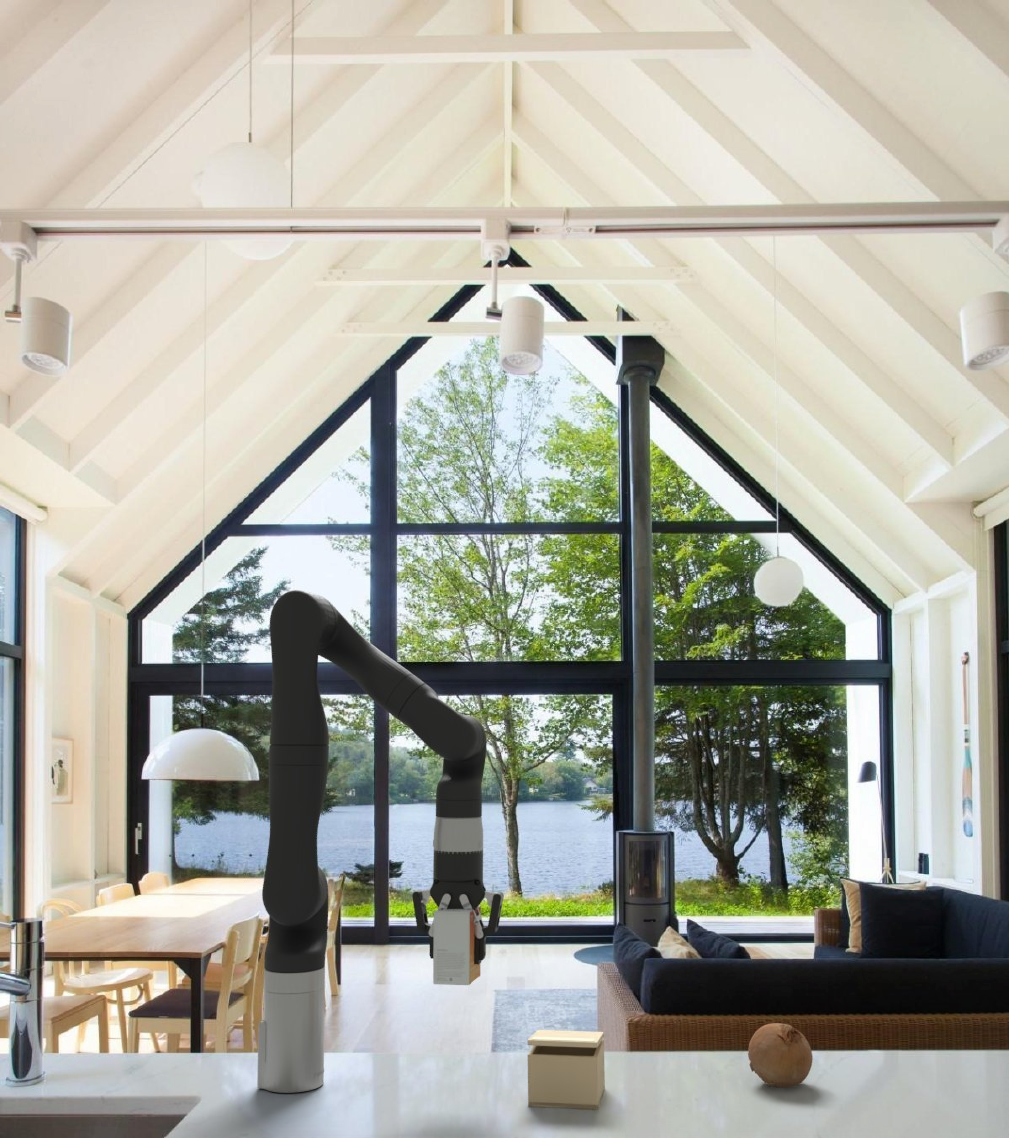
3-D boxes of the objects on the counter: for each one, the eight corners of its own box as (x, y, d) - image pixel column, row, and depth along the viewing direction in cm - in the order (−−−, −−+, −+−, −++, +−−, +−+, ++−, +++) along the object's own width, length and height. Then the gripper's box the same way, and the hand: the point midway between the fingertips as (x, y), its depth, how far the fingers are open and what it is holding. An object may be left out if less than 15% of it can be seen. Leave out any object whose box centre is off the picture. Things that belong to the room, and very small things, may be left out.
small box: (469, 986, 174) (469, 912, 175) (432, 985, 175) (433, 911, 176) (481, 976, 181) (481, 904, 183) (445, 974, 182) (446, 903, 184)
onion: (804, 1111, 176) (823, 1055, 174) (741, 1092, 177) (760, 1036, 175) (798, 1070, 185) (817, 1016, 183) (739, 1052, 186) (757, 998, 184)
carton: (528, 1106, 170) (527, 1055, 171) (538, 1086, 180) (538, 1037, 181) (598, 1109, 168) (597, 1057, 169) (604, 1088, 178) (603, 1039, 179)
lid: (527, 1045, 171) (527, 1039, 171) (537, 1034, 181) (537, 1029, 181) (596, 1047, 169) (596, 1042, 170) (603, 1037, 179) (603, 1031, 179)
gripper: (509, 846, 183) (509, 960, 181) (418, 844, 186) (416, 956, 183) (500, 850, 176) (500, 969, 173) (406, 848, 178) (404, 965, 176)
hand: (457, 962), depth 178 cm, fingers closed on small box, 5 cm apart
